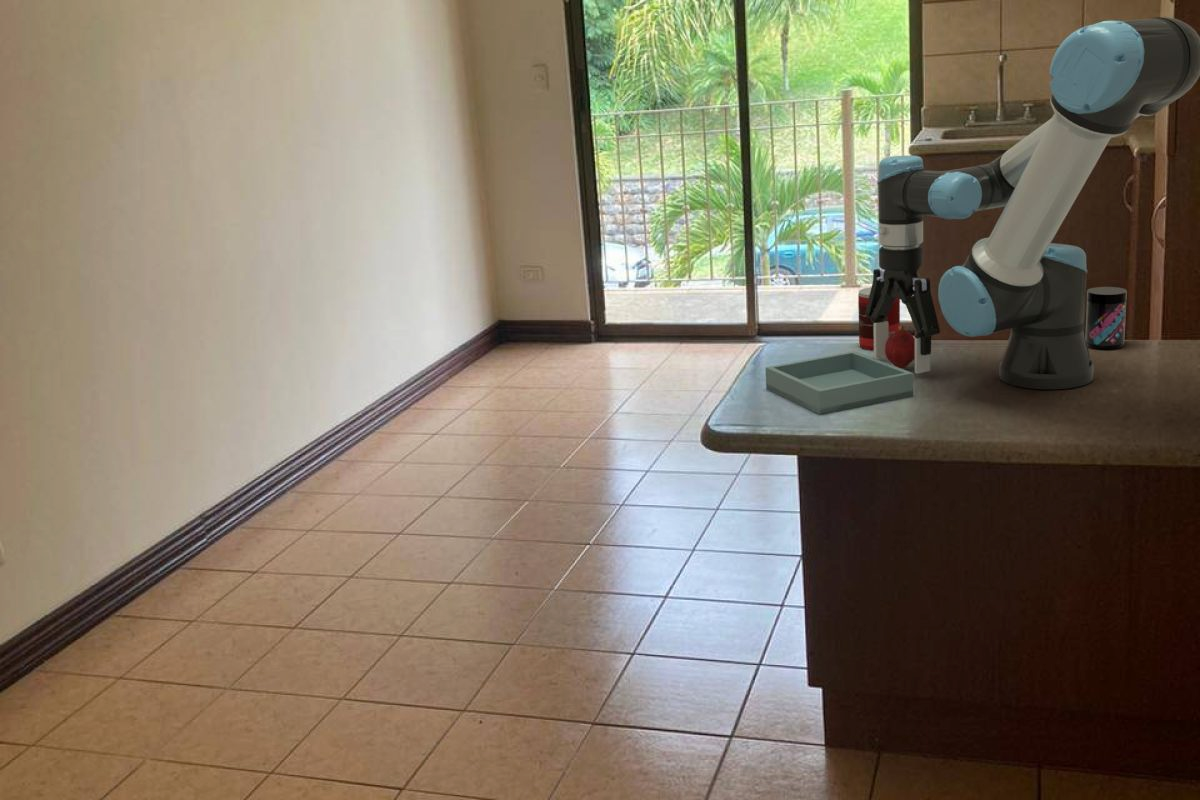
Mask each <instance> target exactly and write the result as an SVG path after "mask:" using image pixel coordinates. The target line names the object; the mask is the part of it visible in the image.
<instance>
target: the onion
mask: <svg viewBox="0 0 1200 800" xmlns="http://www.w3.org/2000/svg"><path fill="white" fill-rule="evenodd" d="M905 328H906V326H905V325H901V324H900V326H899V327H898V330H897V331H896V332H895V333H893V334H892V335H891V336H890V337H889V338H888V339H887V341H886V344H885V354H886V356H885V357H886V359H887V361H889V362H890V364H891V365H893V366H895V367H898V368H901V369H903V370H904V369H905V368H906V367H907V366H909V365H910V364H911V363H913V361H915V336H913V335H912V334H911V333H910V332H908V331H907V330H906V329H905Z"/></svg>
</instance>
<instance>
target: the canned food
mask: <svg viewBox="0 0 1200 800" xmlns="http://www.w3.org/2000/svg"><path fill="white" fill-rule="evenodd" d="M871 287H872V286H869V287H865V288H862V289H859V290H858V295H857V297H858V299H857V300H858V301H857V304H858V305H857V306H858V342H859V343H858V344H859V346H860V348H861V349H863V350H867V351H872V352H874V337H873V322H872V321H871V318H870V317H866V315H865V311H866V307H867V303H868V299H869V295H870V291H871ZM900 306H901V299H898V298H897V297H896V299H895V301H894V303H893V305H892V307H891V309H890V311H889V313H888V315H887V317H888V318H886V319H888V320H883V322H884V321H887V322H888V331H889V337H890V336H891V335H892V334H893V333H895V332H896V331H897V330H898V327H899V326H901V322H900V321H901V307H900ZM873 309H875V308H872V310H873Z"/></svg>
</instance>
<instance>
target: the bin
mask: <svg viewBox="0 0 1200 800" xmlns="http://www.w3.org/2000/svg"><path fill="white" fill-rule="evenodd" d="M765 389H766V390H767V389H768V390H767V391H769V390H770V392H771V391H772V393H773V392H774V393H773V394H775V393H776V395H778V396H780V397H782V398H784V399H786V400H787V401H790V402H792V403H794V404H796V405H798V406H801V407H803V408H805V409H807V410H808V411H811V412H813V413H815V414H817V415H820V416H821V415H826V414H831V413H835V412H836V413H837V412H841V411H846V410H853V409H855V408H860V407H866V406H871V405H876V404H880V403H886V402H891V401H895V400H901V399H906V398H909V397H910V398H911V397H914V373H913V372H911V371H908V370H905V369H904V368H903V369H901V368H898V367H896V366H895V365H893V364H891V363H890V364H889V363H887V362H885V361H882V360H879V359H878V358H874V357H871V356H868V355H866V354H863V353H861V352H858V351H856V350H852V351H845V352H841V353H836V354H830V355H825V356H819V357H814V358H809V359H803V360H798V361H792V362H787V363H781V364H776V365H771V366H766V367H765Z"/></svg>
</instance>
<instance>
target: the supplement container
mask: <svg viewBox="0 0 1200 800" xmlns="http://www.w3.org/2000/svg"><path fill="white" fill-rule="evenodd" d="M1127 294H1128V290H1127V289H1126V288H1122V287H1117V286H1116V287H1115V286H1098V287H1091V288H1088V289H1086V315H1085V317H1086V319H1085V336H1084V337H1085V340H1086V344H1087V347H1088V348H1089V349H1092V350H1093V349H1094V350H1102V351H1111V350H1118V349H1121V348H1123V346H1124V344H1125V335H1126V334H1125V332H1126V314H1127V313H1126V312H1127V311H1126V310H1127V296H1128V295H1127Z"/></svg>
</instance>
